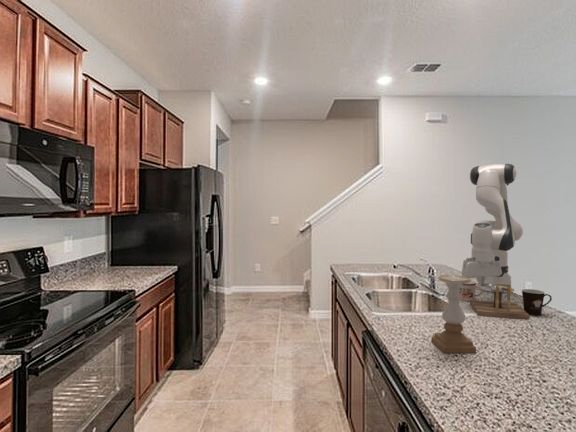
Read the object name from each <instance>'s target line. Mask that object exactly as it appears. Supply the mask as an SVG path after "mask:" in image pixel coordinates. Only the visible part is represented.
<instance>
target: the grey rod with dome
mask: <svg viewBox="0 0 576 432" xmlns="http://www.w3.org/2000/svg"><path fill="white" fill-rule="evenodd" d="M484 286H486V287H489V288H491V291H494V292H496V284H493V285H491V284H488V283H484ZM505 291H507V289H506V288H505V286H499V292H505ZM494 292H493V293H494ZM505 293H506V292H505ZM511 293H513V291H512V289H510V294H511Z"/></svg>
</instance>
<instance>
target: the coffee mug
mask: <svg viewBox="0 0 576 432" xmlns="http://www.w3.org/2000/svg"><path fill="white" fill-rule="evenodd" d="M521 293H522V294H521V295H522V296H521V297H522V303H523V306H522V307H523V310H524V311H526V312H527V313H528V314H529V316H541V315H542V310H543V307H545V306H547V305H549V303H550V302H551V301H552V295H550V294H548V293H546V292H545V291H543V290H540V289H532V288H530V289H529V288H527V289H525V288H524V289H521ZM546 296H548V297H549V300H548V301H547V302H546V303H544V300H545V299H544V298H545V297H546Z"/></svg>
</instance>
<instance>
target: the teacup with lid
mask: <svg viewBox="0 0 576 432" xmlns="http://www.w3.org/2000/svg"><path fill="white" fill-rule="evenodd" d="M477 288H480V289H479V290H480V292H479V293H478V294H476V289H477ZM460 294H461V296H462V298H461V300H460V302H461V301H463V302H470V300H476V297H479V296H481V295H482V294H483V290H482V288H481V287H479V286H478V285H477V282H476V281H474V280H472V279H471V281H470V283H465V284H463V285H462V287H461V288H460Z"/></svg>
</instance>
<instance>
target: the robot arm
mask: <svg viewBox="0 0 576 432" xmlns="http://www.w3.org/2000/svg"><path fill="white" fill-rule="evenodd" d="M516 177H517V169H516V168H515V165H514V164H510V163H505V164H504V163H503V164H502V163H495V164H494V163H493V164H488V165H487V164H486V165H480V166H479V165H478V166H474V167H472V169H471V170H470V173H469V180H470V183H472V184H473V186H476V188H475V198H476V199H475V200H476V202H477V203H478V204H479V205H481V206H482V207H484V208H485V212H486V213H487V214H490V215H491V216H492V217H493V218H494V219H495V220H480V221H477V222H475V223H474V224H473V227H472V233H470V244H471V245H472V247H471V257H466V258H464V260H463V262H462V268H461V276H463V277H468V278H470V279H473V278H475V279H476V281H477V286H479V287H481V288H482V291H486V292H492V293H494V291H491V288H489V287H486V286H484V283H488V284H491V285H493V284H510V285H511V287H510V289H512V292H515V289H514V288H513V287H512V276H511V275H510V274H509V265H508V257H509V256H508V251H510V250H511V249H513V248H514V247H515V245H516V244H515V243H516V241H519V240H520V239H521V237H522V236H523V234H524V231H523V228H522V226H521V224H520V223H519V222H518V221H516V220H515V219H514V218H513V216H512V215H511V213H510V210H509V205H508V204H509V203H508V189H507V186H509V185H510V184H513V182H514V181H515V179H516ZM505 288H506V289H507V286H505ZM476 289H477V290H481V289H480V288H476ZM504 293H507V291H505V292H502V294H504Z"/></svg>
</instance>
